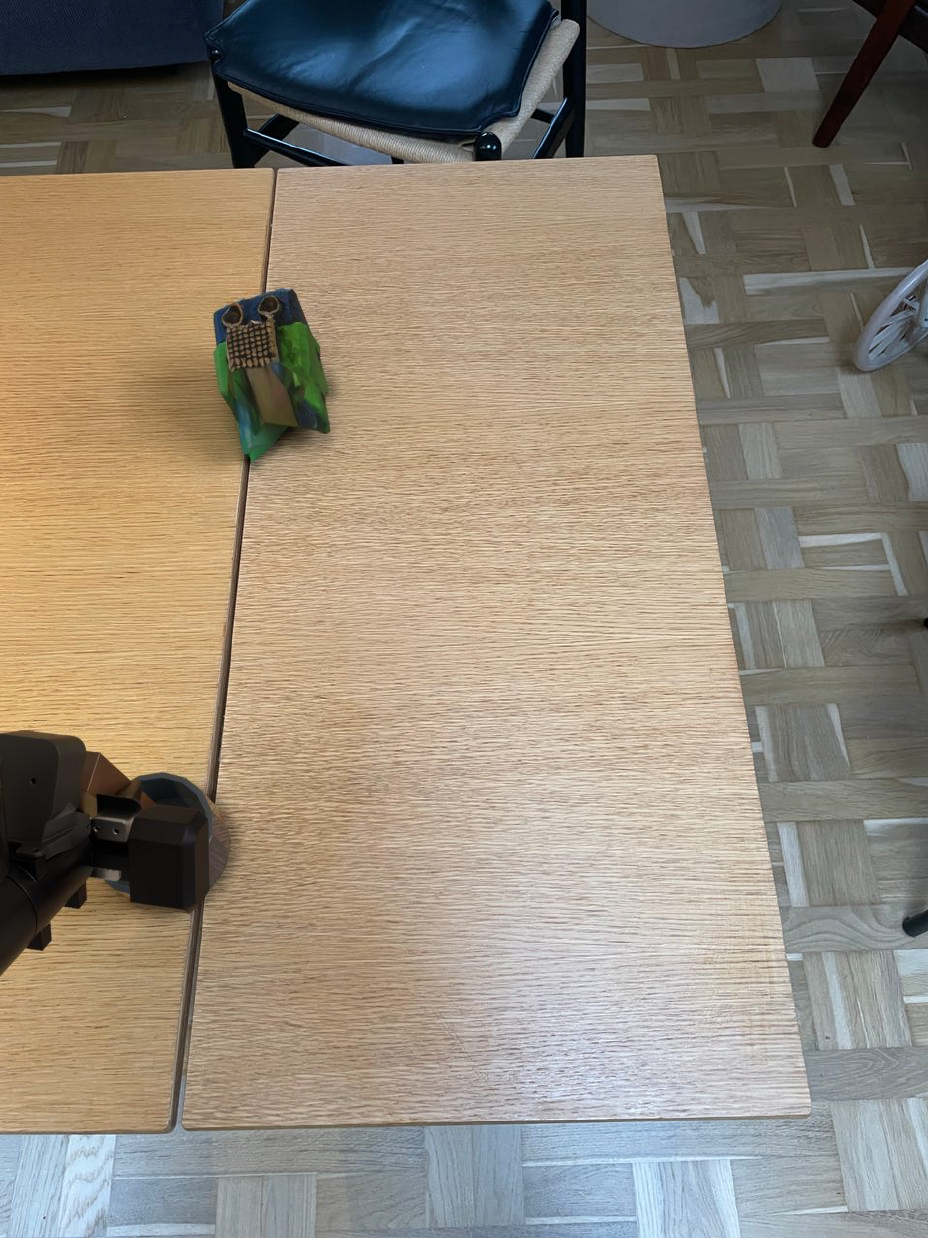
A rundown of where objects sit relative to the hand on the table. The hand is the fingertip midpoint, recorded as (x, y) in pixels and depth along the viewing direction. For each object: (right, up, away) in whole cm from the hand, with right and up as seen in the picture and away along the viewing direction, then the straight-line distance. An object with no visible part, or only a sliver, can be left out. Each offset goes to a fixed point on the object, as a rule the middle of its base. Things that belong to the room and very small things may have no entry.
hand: (119, 782), depth 68 cm
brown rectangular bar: (0, -4, +5) cm, 7 cm away
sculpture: (+5, +33, +32) cm, 46 cm away
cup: (0, -7, +11) cm, 13 cm away
